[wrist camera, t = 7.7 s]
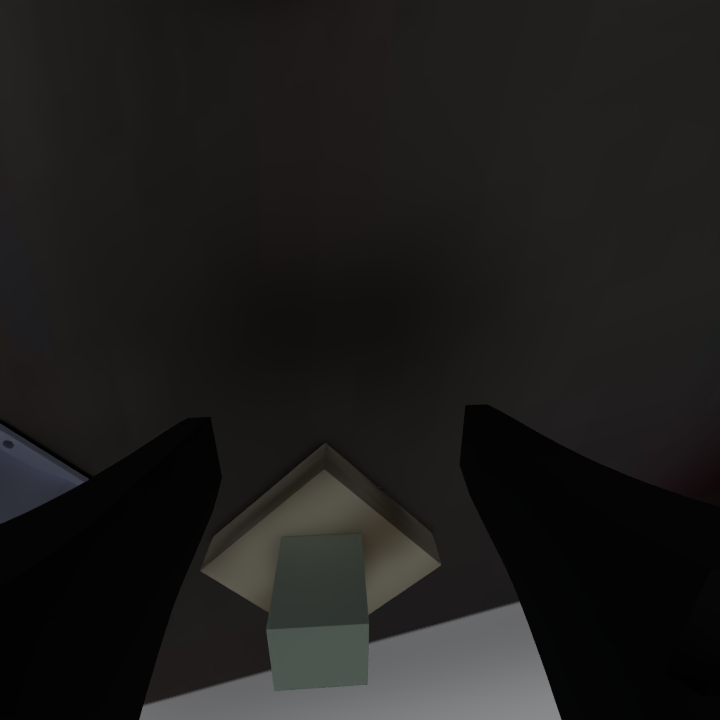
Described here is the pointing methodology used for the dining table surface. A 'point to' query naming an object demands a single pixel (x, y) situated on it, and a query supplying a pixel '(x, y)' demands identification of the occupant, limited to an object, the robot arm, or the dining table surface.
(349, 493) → the birch block
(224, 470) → the dining table surface
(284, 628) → the sage block
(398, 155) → the dining table surface
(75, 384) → the dining table surface
